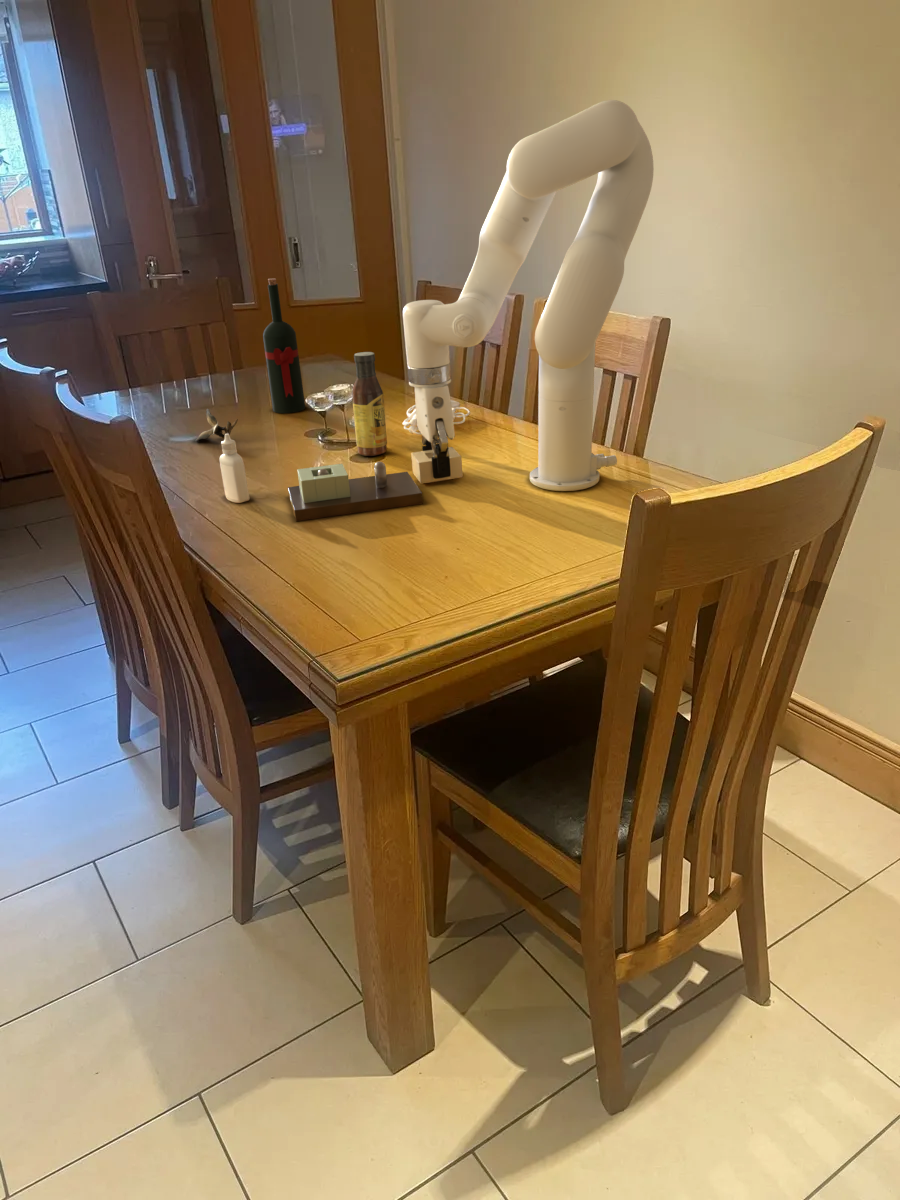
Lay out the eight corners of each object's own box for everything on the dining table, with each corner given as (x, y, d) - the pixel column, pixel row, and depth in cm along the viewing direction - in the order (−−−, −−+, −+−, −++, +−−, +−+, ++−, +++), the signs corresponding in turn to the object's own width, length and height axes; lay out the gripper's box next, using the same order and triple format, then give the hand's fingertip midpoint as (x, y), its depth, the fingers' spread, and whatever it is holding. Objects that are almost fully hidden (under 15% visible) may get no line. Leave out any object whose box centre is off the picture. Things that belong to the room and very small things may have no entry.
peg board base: (408, 481, 160) (405, 447, 157) (422, 503, 150) (420, 468, 147) (289, 497, 155) (284, 463, 152) (296, 521, 145) (291, 484, 142)
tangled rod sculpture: (455, 445, 182) (456, 426, 180) (389, 437, 185) (389, 419, 183) (474, 417, 198) (474, 399, 196) (413, 410, 201) (413, 393, 199)
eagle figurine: (244, 430, 191) (211, 420, 194) (233, 409, 184) (199, 399, 187) (226, 457, 188) (193, 446, 191) (214, 436, 182) (180, 425, 184)
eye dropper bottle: (225, 505, 153) (213, 439, 148) (225, 494, 158) (214, 431, 153) (249, 502, 154) (239, 437, 148) (250, 492, 159) (239, 428, 153)
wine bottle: (275, 417, 204) (256, 283, 190) (271, 406, 213) (253, 278, 199) (308, 413, 206) (292, 280, 192) (303, 403, 214) (287, 275, 201)
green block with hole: (344, 484, 154) (342, 463, 152) (350, 497, 149) (348, 474, 147) (299, 490, 152) (297, 469, 151) (304, 503, 147) (301, 481, 145)
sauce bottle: (383, 457, 173) (374, 357, 164) (353, 457, 174) (343, 357, 165) (391, 447, 179) (383, 350, 170) (362, 447, 180) (353, 350, 171)
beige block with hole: (453, 466, 164) (452, 446, 162) (462, 477, 159) (461, 456, 157) (412, 473, 163) (410, 452, 161) (420, 483, 157) (418, 462, 155)
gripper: (463, 382, 145) (469, 482, 153) (438, 362, 160) (444, 455, 168) (419, 387, 144) (428, 489, 152) (398, 367, 159) (407, 460, 167)
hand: (437, 470), depth 160 cm, fingers closed on beige block with hole, 6 cm apart
